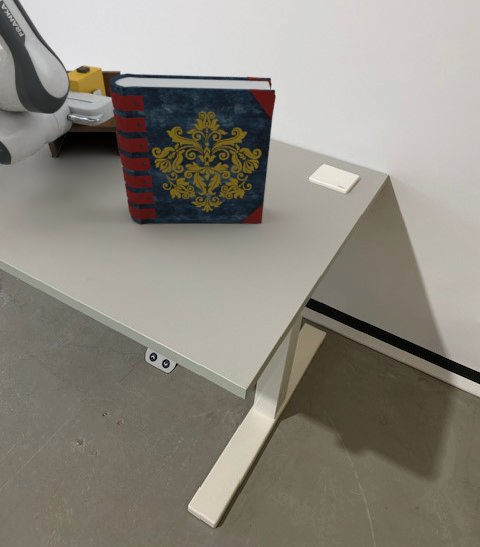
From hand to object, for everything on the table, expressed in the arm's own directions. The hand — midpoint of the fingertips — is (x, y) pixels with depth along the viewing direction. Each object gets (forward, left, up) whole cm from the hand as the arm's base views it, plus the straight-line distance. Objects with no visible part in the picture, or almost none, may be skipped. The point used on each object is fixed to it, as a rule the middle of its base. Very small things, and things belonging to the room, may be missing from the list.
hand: (86, 90), depth 92 cm
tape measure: (0, -1, -5) cm, 5 cm away
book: (+22, -31, -12) cm, 40 cm away
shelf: (-1, 0, -12) cm, 12 cm away
